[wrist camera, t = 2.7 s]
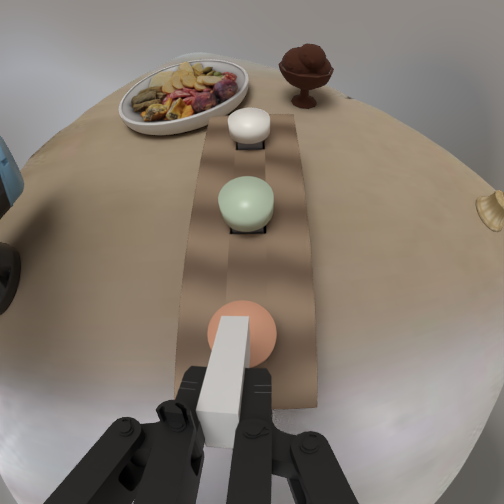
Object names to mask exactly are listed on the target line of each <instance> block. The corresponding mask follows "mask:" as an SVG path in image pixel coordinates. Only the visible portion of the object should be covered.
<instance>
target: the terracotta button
mask: <svg viewBox="0 0 504 504" xmlns="http://www.w3.org/2000/svg"><path fill="white" fill-rule="evenodd" d="M221 316H249V328H250V365H249V368H252V367H255V366H257V365H259V364H261V363H263V362H264V361H265V360H266V359H267V358H268V357H269V356H270V354H271V353H272V351H273V349H274V346H275V342H276V336H277V331H276V325H275V322H274V320H273V318H272V316H271V315H270V313H269V312H268V311H267V310H266V309H265V308H264V307H262V306H261V305H259V304H257V303H254V302H251V301H244V300H240V301H234V302H230V303H228V304H226V305H224V306H222V307H221V308H220V309H219V310H218V311H217V312H216V313H215V314H214V315H213V317H212V318H211V320H210V323H209V326H208V332H207V337H208V342H209V346H210V348H211V350H212V348H213V345H214V341H215V337H216V334H217V330H218V326H219V323H220V319H221Z"/></svg>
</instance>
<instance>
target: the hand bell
mask: <svg viewBox="0 0 504 504" xmlns="http://www.w3.org/2000/svg"><path fill="white" fill-rule="evenodd" d="M476 208H477V211H478V214H479V216H480V218H481V219H482V221H483V222H484V224H485V225H486V226H487V227H488V228H489V229H491V230H492V231H495V232H499V231H500V230H501V229H502V227H503V219H504V193H503V192H502V191H499V190H498V191H496V192H495V193H493V194H492V195H490V196H488V197H486V196H481V197H479V198H478V199H477V201H476Z"/></svg>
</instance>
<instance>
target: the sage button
mask: <svg viewBox="0 0 504 504" xmlns="http://www.w3.org/2000/svg"><path fill="white" fill-rule="evenodd" d="M218 203H219V207H220V211H221V214H222V218H223V220H224V222H225V223H226V224H227V225H228V226H229V227H231V228H232V231H233V234H264V226H265V225H266V224H267V223H268V222H269V221H270V219H271V218H272V215H273V205H274V195H273V191H272V189H271V187H270V186H269V184H268V183H266V182H265V181H264V180H262V179H260V178H257V177H252V176H243V177H238V178H235V179H233V180H231V181H229V182H228V183H226V184H225V185H224V186H223V188H222V189H221V191H220V193H219V196H218Z"/></svg>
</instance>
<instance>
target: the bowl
mask: <svg viewBox="0 0 504 504" xmlns="http://www.w3.org/2000/svg"><path fill="white" fill-rule="evenodd" d="M248 86H249V77H248V74H247V72H246V71H245V70H244V69H243V68H242V67H240V66H239V65H237V64H234V63H231V62H228V61H222V60H195V61H188V62H183V63H179V64H176V65H172V66H169V67H166V68H164V69H161V70H159V71H157V72H155V73H153V74H151V75H149V76H147V77H145V78H144V79H142V80H141V81H139V82H138V83H137V84H135V85H134V86H133V87H132V88H131V89H130V90H129V91H128V92H127V93H126V94H125V95H124V97H123V98H122V100H121V102H120V105H119V114H120V116H121V118H122V120H123V122H124V123H125V124H126V125H127V126H128V127H130V128H131V129H133V130H135V131H137V132H140V133H143V134H149V135H171V134H178V133H183V132H187V131H191V130H195V129H198V128H201V127H204V126H206V125H208V123H209V118H210V117H217V116H226V115H227V114H229V113H230V112H231V111H233V110H234V109H235V108H236V107H237V106H238V105H239V104H240V103H241V102H242V100H243V99H244V97H245V95H246V93H247V91H248Z"/></svg>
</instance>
